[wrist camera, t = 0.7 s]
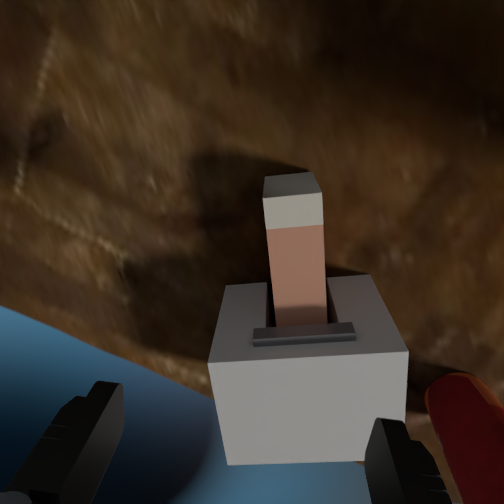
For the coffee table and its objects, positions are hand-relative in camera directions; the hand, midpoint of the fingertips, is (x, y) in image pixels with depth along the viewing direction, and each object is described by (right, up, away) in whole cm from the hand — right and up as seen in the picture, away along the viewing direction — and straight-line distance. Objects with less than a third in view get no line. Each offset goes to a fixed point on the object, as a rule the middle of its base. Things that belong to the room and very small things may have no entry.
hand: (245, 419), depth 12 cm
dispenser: (+4, -1, +22) cm, 22 cm away
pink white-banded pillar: (+4, +4, +19) cm, 20 cm away
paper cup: (+19, -8, +24) cm, 32 cm away
